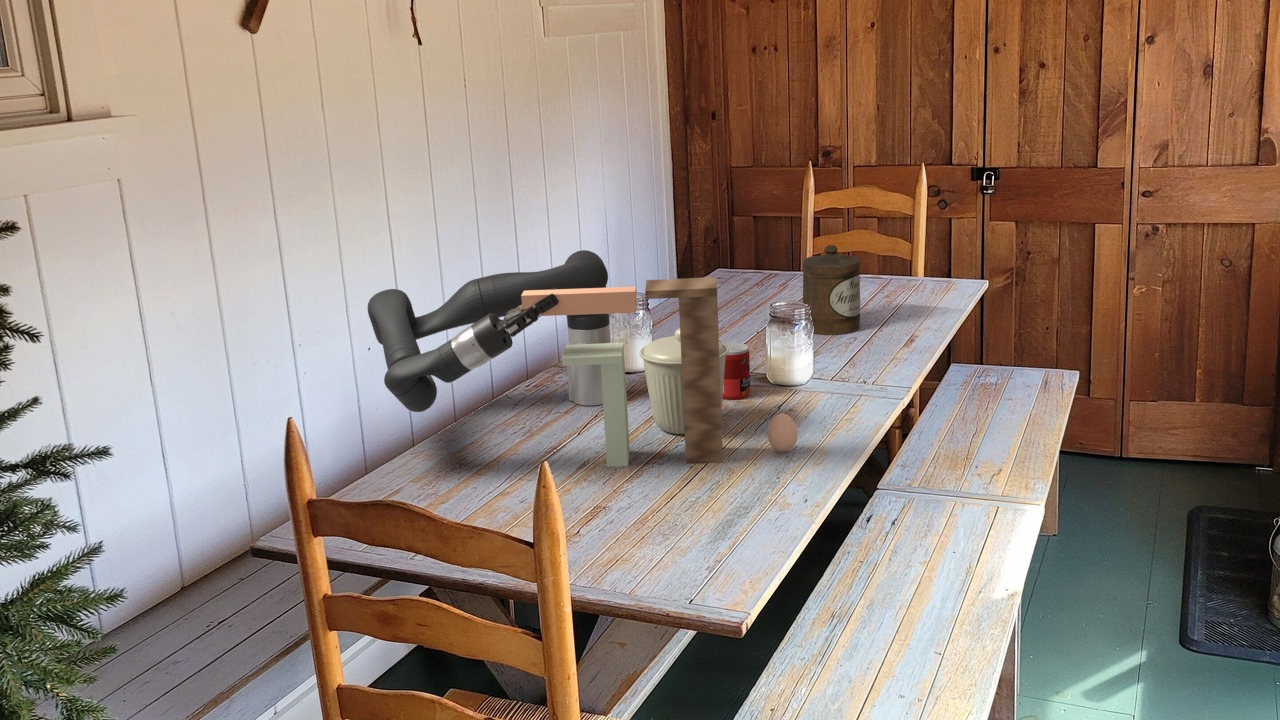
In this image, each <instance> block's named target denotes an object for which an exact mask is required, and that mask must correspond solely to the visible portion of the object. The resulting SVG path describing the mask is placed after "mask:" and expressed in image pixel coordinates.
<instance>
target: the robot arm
mask: <svg viewBox="0 0 1280 720" xmlns="http://www.w3.org/2000/svg"><path fill="white" fill-rule="evenodd" d="M608 281H609V273H608V269H607V267H606V264H605V263H604V261H603V259H602V258H601V256H599V254H597V253H595V252H593V251H590V250H585V249H583V250H578V251H575V252H573V253H572V254H570V255H569V256H568V257H567V259H566V260H565V262H564V264H561V265H558V266H555V267H552V268H548V269H545V270H539V271H531V272H530V271H524V272H522V271H521V272H519V271H518V272H516V271H515V272H502V273H495V274H491V275H487V276H483V277H478V278H475V279H471V280H469V281H467V282H466V283H464V284H463V285H462V286H461V287H460V288H459V289H458V290H457V291H456V292H454V293H453V295H451V296H450V297H449V299H448V300H446V301H445V302H444V303H443V304H442V305H440V307H438V308H437V309H435V310H433V311H430V312H428V313H426V314H423V315H420V316H416V315H415V312H414V309H413V305H412V303H411V299H410V298H409V296H408V294H406V292H404V291H403V290H401V289H397V288H388V289H384V290H382V291H379V292H377V293H375V294H374V295H372V297H371V298H370V299H369V300H368V303H367V313H368V318H369V320H370V323H371V326H372V330H373V332H374V333H373V334H374V336H375V338H376V341H377V342H378V343H379V344H380V345H382V348H383V349H382V350H383V356H384V359H385V363H386V367H387V370H386V372H385V374H384V378H383V380H384V385H385V387H386V389H388V391H389V392H390V393H391V394H392V395H393V396H394V397H395V398H396V399H397V400H398V401H399V402H400V404H402V405H403V406H404V408H406V409H407V410H409V411H410V412H414V413H421V412H422V413H423V412H425V411H427V410H429V409H430V408H431V407H432V406H433V404H435V401H436V399H437V395H438V388H437V385H436V382H435V380H434V378H437V379H439V380H440V381H442V382H444V383H446V384H451V383H453V382H455V381H457V380H458V379H460V378H462V377H464V375H465V376H466V374H467V373H470V372H471V371H473V370H475V369H477V368H479V367H481V366H483V365H485V364H487V363H489V362H490V361H492V360H493V359H495V358H496V357H498V356H500V355H501V354H503V353H505V352H506V351H508V350H510V349H511V348H512V347H513V337H516V336H517V335H518V334H520V333H521V332H522V331H523V330H525V329H526V328H528V327H530V326H531V325H533V324H534V323H535V322H538V320H539V318H541V317H542V316H541V315H542V313H544V312H546V311H548V310H549V309H551V308H553V307H554V306H556V305H557V304H558V303H559V301H558V299H557V298H556V296H555V295H554V294H550V295H548V296H547V297H545V298H544V299H542V300H540V301H539V302H537V303H536V304H537V305H536V304H532V305H531V306H530V307H528V308H522V299H521V295H522V293H523V291H528V290H556V289H583V288H607V284H608V283H609V282H608ZM501 318H503V319H501ZM566 320H567V321H566V323H567V335H568V345H578V344H601V343H612V340H611V327H610V314H584V315H566ZM463 326H468V327H465V328H464V329H462V330H461V331H460V332H459V333H457V334H456V335H455V336H454V337H452V338H451V339H449V340H447V341H446V342H444V343H443V344H441V345H440V346H438V347H437V348H434V349H432V350H428V351H425V352H422V353H421V350H420V347H419V344H418V342H417V340H420V339H423V338H426V337H429V336H432V335H435V334H438V333H440V332H441V333H442V332H445V331H447V330H451V329H456V328H459V327H463ZM566 374H567V375H566V377H567V390H568V400H569V401H571V402H573V403H574V404H576V405H579V406H599V405H600V406H601V405H603V395H602V379H601V364H599V365H575V366H566ZM432 376H433V377H432Z"/></svg>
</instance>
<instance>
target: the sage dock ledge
mask: <svg viewBox="0 0 1280 720" xmlns="http://www.w3.org/2000/svg"><path fill="white" fill-rule="evenodd" d="M624 344H625V343H624V342H611V343H601V344H578V345H569V344H566V346H565V347H564V351H563V354H562V357H561V361H562V367H567V366H575V365H599V364H601V379H602V395H603V404H602V408H603V421H604V422H603V423H604V439H605V440H604V441H605V442H604V443H605V453H606V455H605V456H606V467H607V468H609V467H610V468H614V467H615V468H616V467H617V468H619V467H629V462H630V460H629V459H630V454H631V453H630V450H631V449H630V435H629V433H630V431H629V417H628V416H629V414H628V413H629V412H628V397H627V396H628V395H627V384H626V383H627V381H626V379H627V378H626V367H625V366H626V365H625V346H624Z"/></svg>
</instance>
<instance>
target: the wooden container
mask: <svg viewBox="0 0 1280 720" xmlns="http://www.w3.org/2000/svg"><path fill="white" fill-rule="evenodd" d="M823 250H824V252H825V253H824V254H820V255H819V254H818V255H812V256H809V257H806V258H804V259H803V262H802V304H803V303H804V304H808V305H809V306H810V310H811V317H812V322H813V326H814V333H813V334H816V335H823V336H824V335H826V336H839V335H847V334H850V333H854V332H856V331H858V330H860V329H861V276H860V275H861V273H860V270H861V261H860V258H858V257H857V256H853V255H849V254H848V255H845V254H838V246H837V245H836V246H835V245H833V244H829V245H827V246H825V247H824V249H823Z"/></svg>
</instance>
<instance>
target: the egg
mask: <svg viewBox="0 0 1280 720" xmlns="http://www.w3.org/2000/svg"><path fill="white" fill-rule="evenodd" d="M767 428H768V429H767V440H768V443H769V444H770V446H771V447H772V448H773V449H774V450H775V451H777V452H779V453H786V452H789V451H790V450H792V449H793V448H794V447H795V445H796V443H797V441H798V438H799V437H798V436H799V435H798V427H797V424H796V423H795V421H794V419H792V417H791V416H790V415H789V414H786V413H779V414H777V415H775V416H774V417H773V418H772V419H771V420H770V422H769V425H768V427H767Z"/></svg>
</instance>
